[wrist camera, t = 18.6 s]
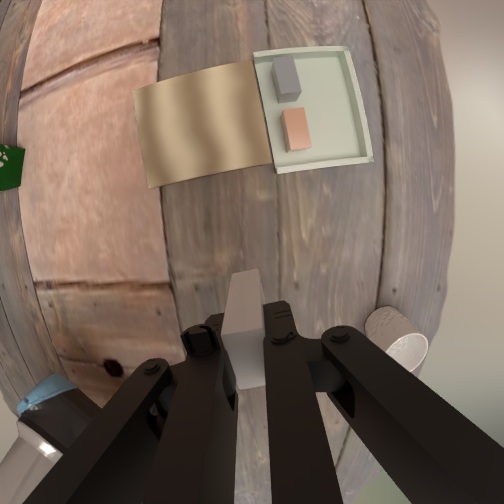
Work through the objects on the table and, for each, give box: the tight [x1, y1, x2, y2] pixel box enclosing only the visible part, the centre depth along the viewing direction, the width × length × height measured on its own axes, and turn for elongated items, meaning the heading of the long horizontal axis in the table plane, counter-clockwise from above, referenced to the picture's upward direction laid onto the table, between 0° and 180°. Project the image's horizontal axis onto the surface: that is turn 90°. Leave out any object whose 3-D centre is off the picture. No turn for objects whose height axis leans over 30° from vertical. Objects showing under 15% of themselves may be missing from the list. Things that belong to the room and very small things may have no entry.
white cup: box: [365, 306, 428, 372], centre depth 38 cm, size 8×8×10 cm
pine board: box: [133, 60, 272, 189], centre depth 33 cm, size 16×14×4 cm
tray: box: [253, 46, 374, 174], centre depth 33 cm, size 13×17×3 cm
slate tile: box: [271, 56, 302, 104], centre depth 31 cm, size 5×5×2 cm
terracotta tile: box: [280, 107, 312, 153], centre depth 32 cm, size 5×5×2 cm
